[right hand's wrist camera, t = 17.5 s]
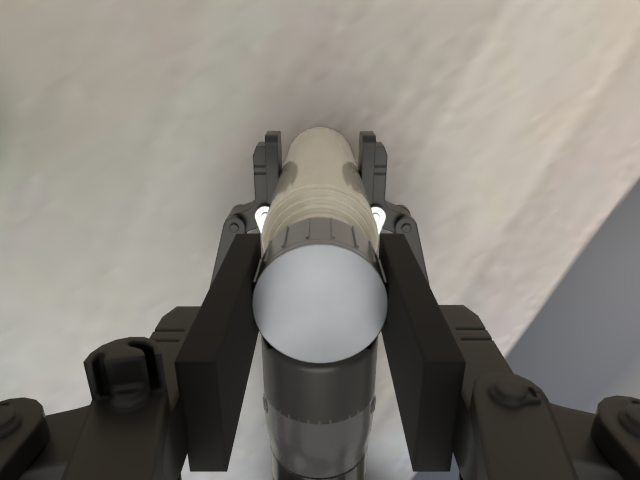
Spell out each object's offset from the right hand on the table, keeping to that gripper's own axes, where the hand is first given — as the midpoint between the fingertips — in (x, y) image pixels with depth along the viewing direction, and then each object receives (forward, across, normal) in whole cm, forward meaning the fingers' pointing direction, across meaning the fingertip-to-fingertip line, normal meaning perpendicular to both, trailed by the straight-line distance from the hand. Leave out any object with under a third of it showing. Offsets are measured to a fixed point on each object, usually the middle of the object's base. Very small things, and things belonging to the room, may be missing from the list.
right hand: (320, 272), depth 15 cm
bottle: (+18, 0, 0) cm, 18 cm away
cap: (-2, 0, 0) cm, 2 cm away
